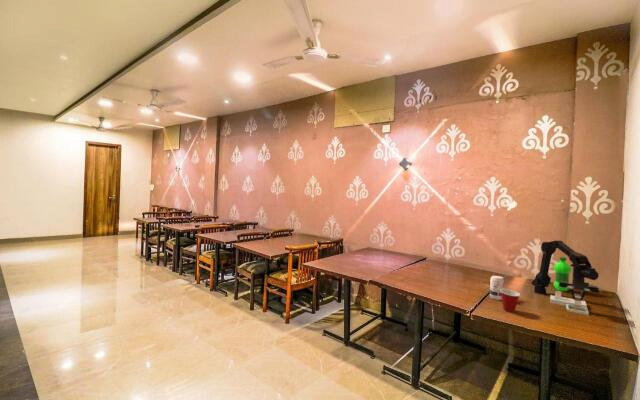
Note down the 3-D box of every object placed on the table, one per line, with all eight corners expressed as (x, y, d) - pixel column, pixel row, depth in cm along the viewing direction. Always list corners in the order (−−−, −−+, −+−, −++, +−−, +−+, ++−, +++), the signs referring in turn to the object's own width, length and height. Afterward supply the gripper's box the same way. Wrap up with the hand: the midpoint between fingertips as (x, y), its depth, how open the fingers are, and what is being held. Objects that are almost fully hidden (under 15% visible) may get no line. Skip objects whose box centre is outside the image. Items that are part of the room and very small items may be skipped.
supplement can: (501, 297, 213) (502, 276, 212) (504, 301, 205) (505, 279, 205) (488, 295, 216) (489, 274, 215) (491, 299, 208) (491, 278, 207)
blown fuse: (573, 304, 191) (574, 293, 191) (580, 305, 189) (580, 294, 189) (574, 305, 188) (574, 294, 188) (580, 307, 187) (581, 295, 186)
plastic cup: (518, 315, 181) (519, 296, 181) (497, 310, 188) (498, 291, 188) (520, 310, 190) (521, 291, 189) (501, 306, 197) (501, 287, 196)
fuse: (555, 302, 202) (555, 291, 202) (554, 300, 205) (555, 290, 204) (560, 303, 200) (561, 292, 200) (560, 301, 203) (561, 291, 203)
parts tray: (567, 312, 188) (567, 308, 188) (566, 307, 196) (566, 303, 196) (588, 316, 182) (588, 312, 182) (586, 311, 190) (586, 307, 190)
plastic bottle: (568, 289, 232) (570, 257, 231) (571, 293, 223) (572, 259, 222) (552, 287, 237) (553, 255, 237) (553, 291, 229) (555, 258, 228)
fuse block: (550, 304, 201) (550, 299, 201) (550, 300, 209) (550, 294, 209) (586, 311, 190) (586, 305, 190) (584, 306, 198) (584, 300, 198)
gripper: (560, 275, 187) (558, 300, 188) (601, 281, 176) (599, 307, 177) (559, 271, 196) (558, 295, 197) (598, 276, 185) (596, 302, 186)
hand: (577, 300), depth 189 cm, fingers closed on blown fuse, 3 cm apart
